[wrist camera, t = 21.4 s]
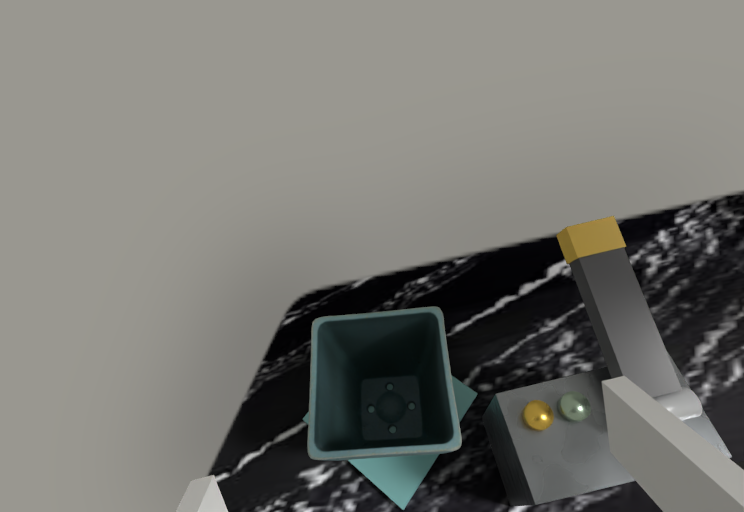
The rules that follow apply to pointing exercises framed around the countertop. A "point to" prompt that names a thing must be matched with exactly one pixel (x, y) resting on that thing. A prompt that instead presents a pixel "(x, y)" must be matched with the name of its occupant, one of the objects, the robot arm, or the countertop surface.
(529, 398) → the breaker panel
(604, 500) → the countertop surface
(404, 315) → the flower pot
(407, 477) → the pad
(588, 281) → the lever
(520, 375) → the countertop surface
